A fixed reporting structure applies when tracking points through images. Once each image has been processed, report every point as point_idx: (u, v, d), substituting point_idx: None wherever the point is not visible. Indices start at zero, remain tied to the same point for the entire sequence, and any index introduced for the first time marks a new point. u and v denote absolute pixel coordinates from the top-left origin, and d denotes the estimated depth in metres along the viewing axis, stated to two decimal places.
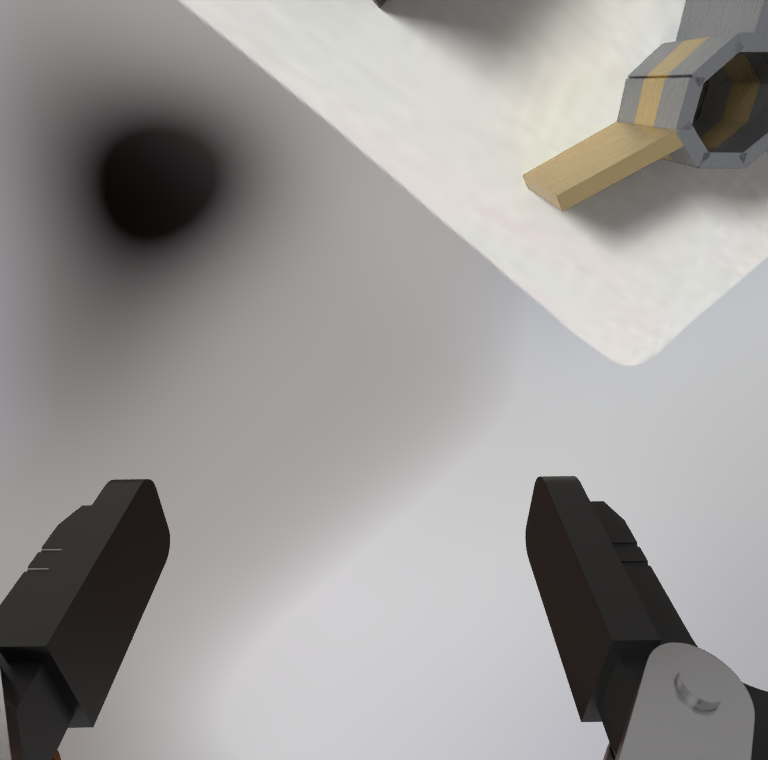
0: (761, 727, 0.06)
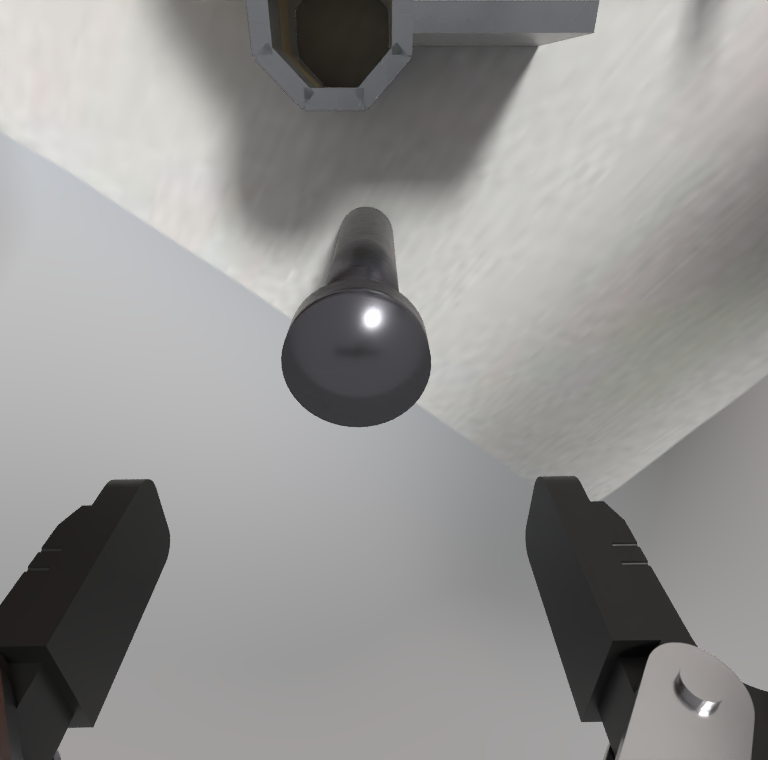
0: (761, 727, 0.06)
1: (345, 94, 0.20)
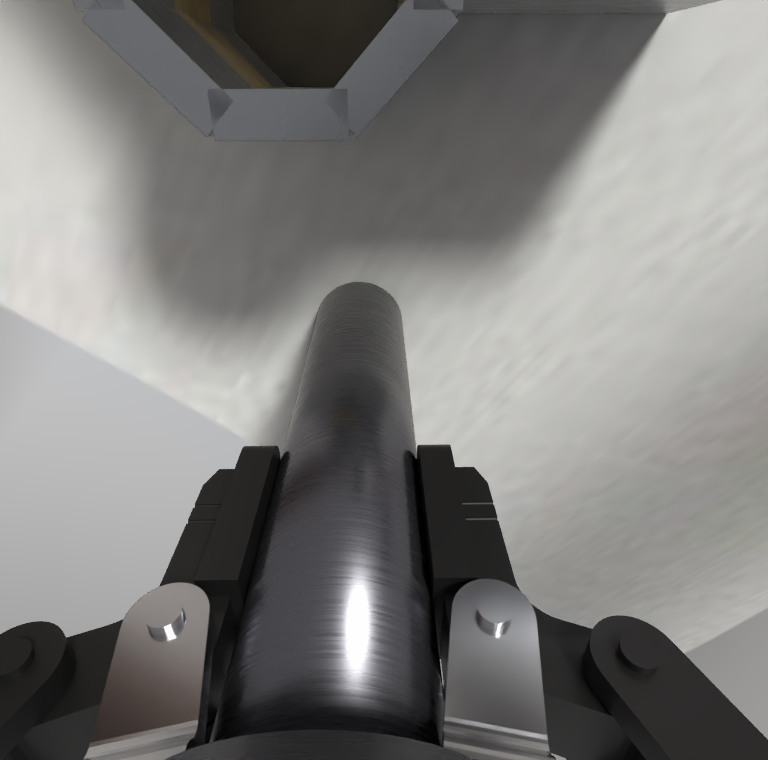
0: (550, 649, 0.07)
1: (304, 103, 0.09)
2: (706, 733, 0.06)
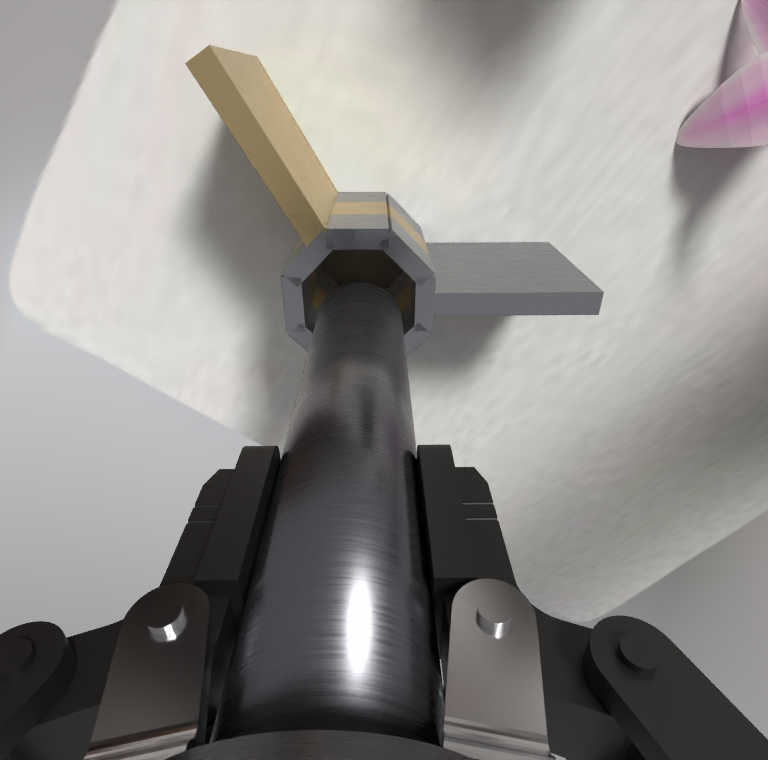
0: (550, 649, 0.07)
1: None
2: (706, 733, 0.06)
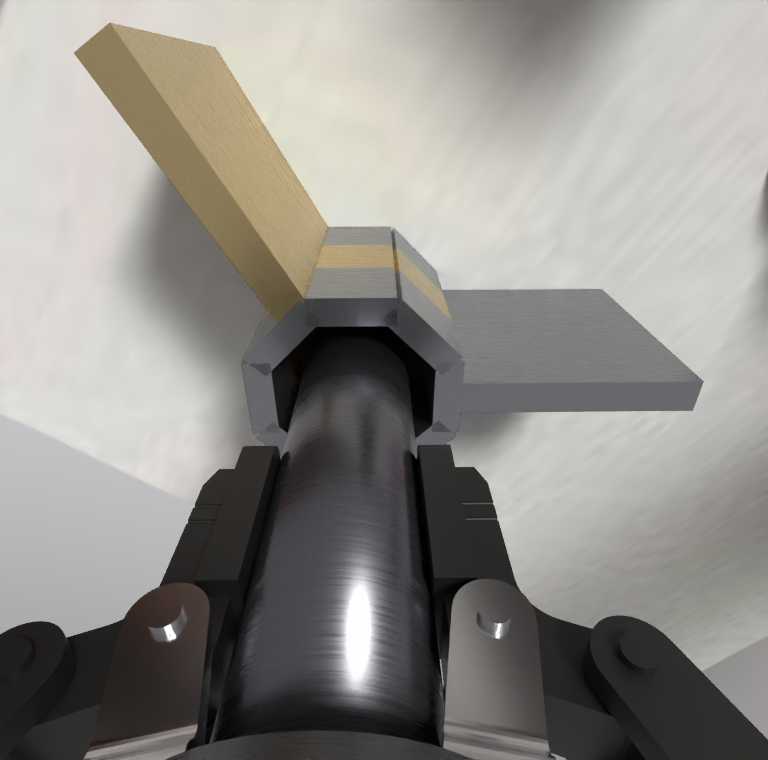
0: (551, 649, 0.07)
1: None
2: (706, 733, 0.06)
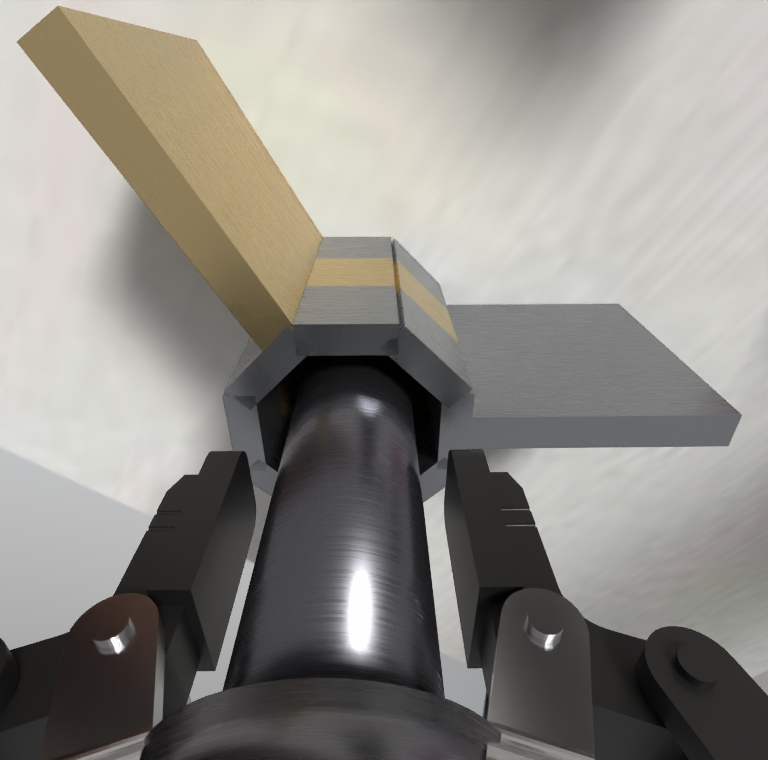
0: (602, 660, 0.07)
1: None
2: (766, 753, 0.06)
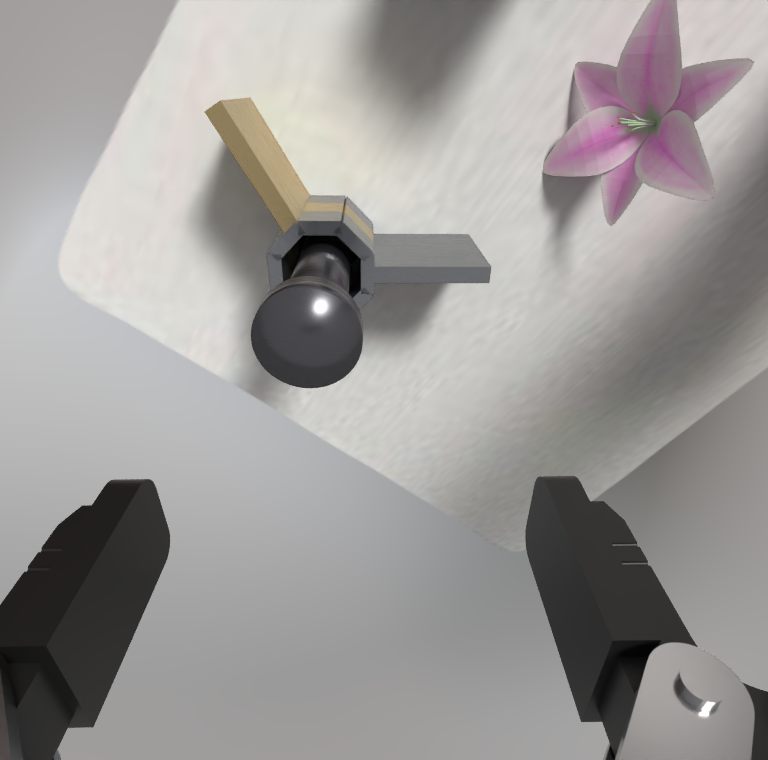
0: (761, 727, 0.06)
1: None
2: None
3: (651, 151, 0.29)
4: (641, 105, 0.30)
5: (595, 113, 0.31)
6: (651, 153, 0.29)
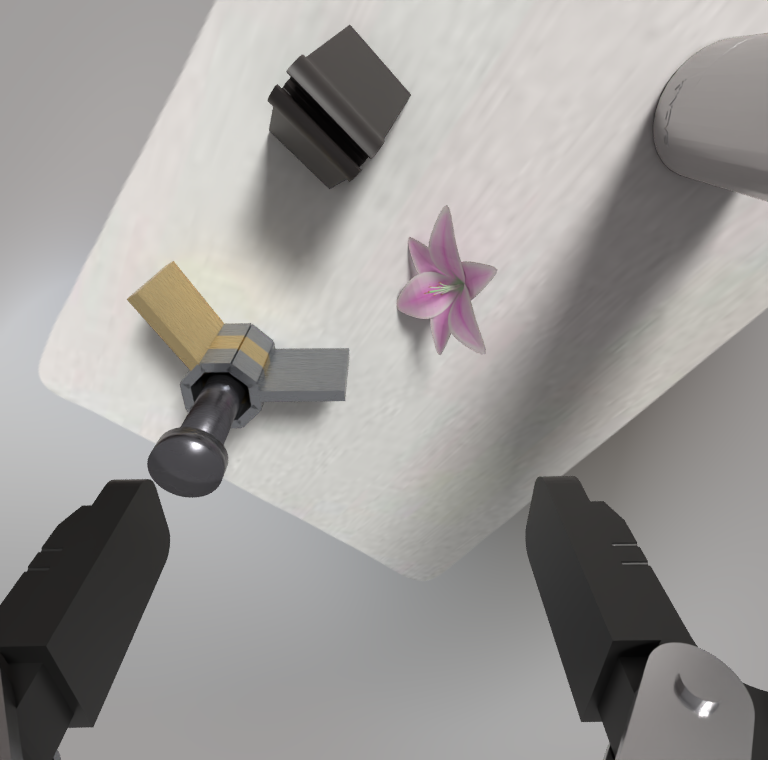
0: (761, 727, 0.06)
1: None
2: None
3: (455, 309, 0.40)
4: (450, 273, 0.40)
5: (422, 275, 0.41)
6: (455, 311, 0.40)
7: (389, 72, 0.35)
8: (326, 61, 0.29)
